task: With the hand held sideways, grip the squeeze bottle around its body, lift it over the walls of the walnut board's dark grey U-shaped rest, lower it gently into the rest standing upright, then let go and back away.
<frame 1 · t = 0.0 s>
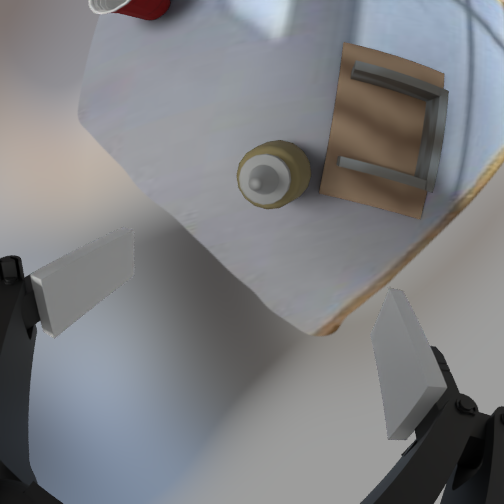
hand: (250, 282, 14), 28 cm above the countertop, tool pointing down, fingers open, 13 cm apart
u rest: (386, 128, 34), on the countertop
squeeze bottle: (282, 170, 39), on the countertop
plastic cup: (155, 8, 33), on the countertop
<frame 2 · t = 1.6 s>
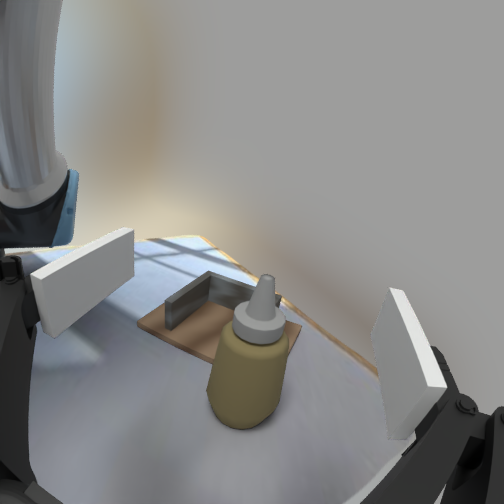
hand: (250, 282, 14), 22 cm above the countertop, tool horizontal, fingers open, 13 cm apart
u rest: (222, 330, 45), on the countertop
squeeze bottle: (239, 411, 31), on the countertop
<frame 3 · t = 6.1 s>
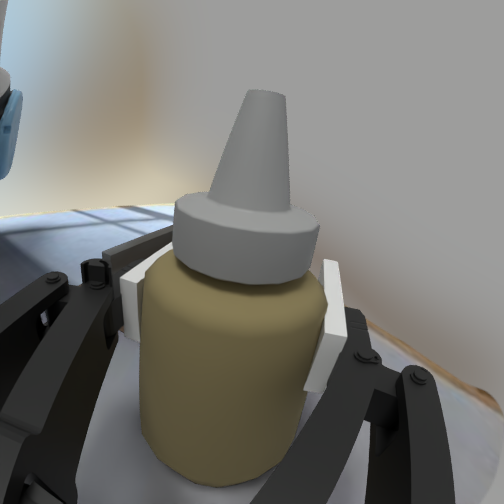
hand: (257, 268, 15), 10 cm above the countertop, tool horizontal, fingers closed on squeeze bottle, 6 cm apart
u rest: (195, 308, 29), on the countertop
squeeze bottle: (213, 449, 15), on the countertop, touching gripper
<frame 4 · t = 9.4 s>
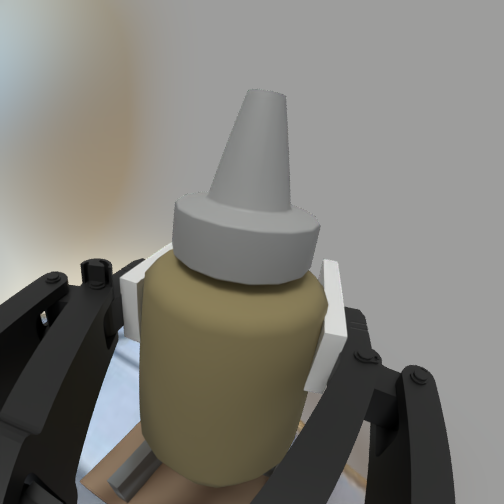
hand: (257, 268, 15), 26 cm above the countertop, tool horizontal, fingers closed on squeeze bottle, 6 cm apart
u rest: (203, 494, 22), on the countertop
squeeze bottle: (213, 449, 15), point 16 cm above the countertop, touching gripper
when the fingers open (12 cm above the countertop, at t = 12.6 s): squeeze bottle drops 1 cm, resting on u rest.
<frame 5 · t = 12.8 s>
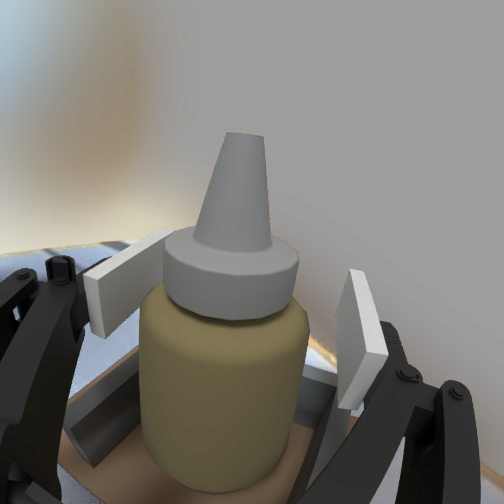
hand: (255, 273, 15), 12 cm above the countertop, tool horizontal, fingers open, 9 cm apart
u rest: (214, 458, 16), on the countertop
squeeze bottle: (212, 459, 15), point 1 cm above the countertop, touching u rest
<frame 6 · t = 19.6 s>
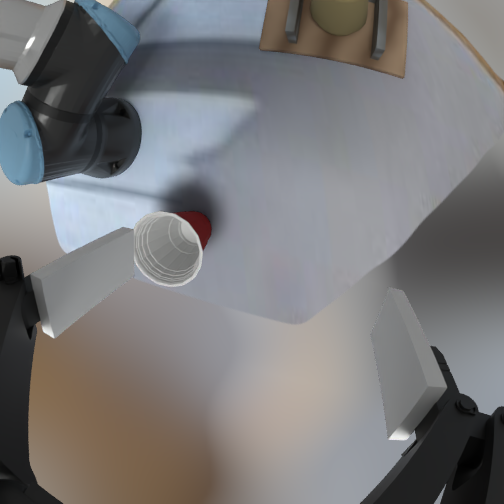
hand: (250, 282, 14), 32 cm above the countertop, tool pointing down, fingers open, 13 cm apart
u rest: (337, 21, 32), on the countertop
squeeze bottle: (337, 21, 32), point 1 cm above the countertop, touching u rest
plastic cup: (197, 228, 49), on the countertop
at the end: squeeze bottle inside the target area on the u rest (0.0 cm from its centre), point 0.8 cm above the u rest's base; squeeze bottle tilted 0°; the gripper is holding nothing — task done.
